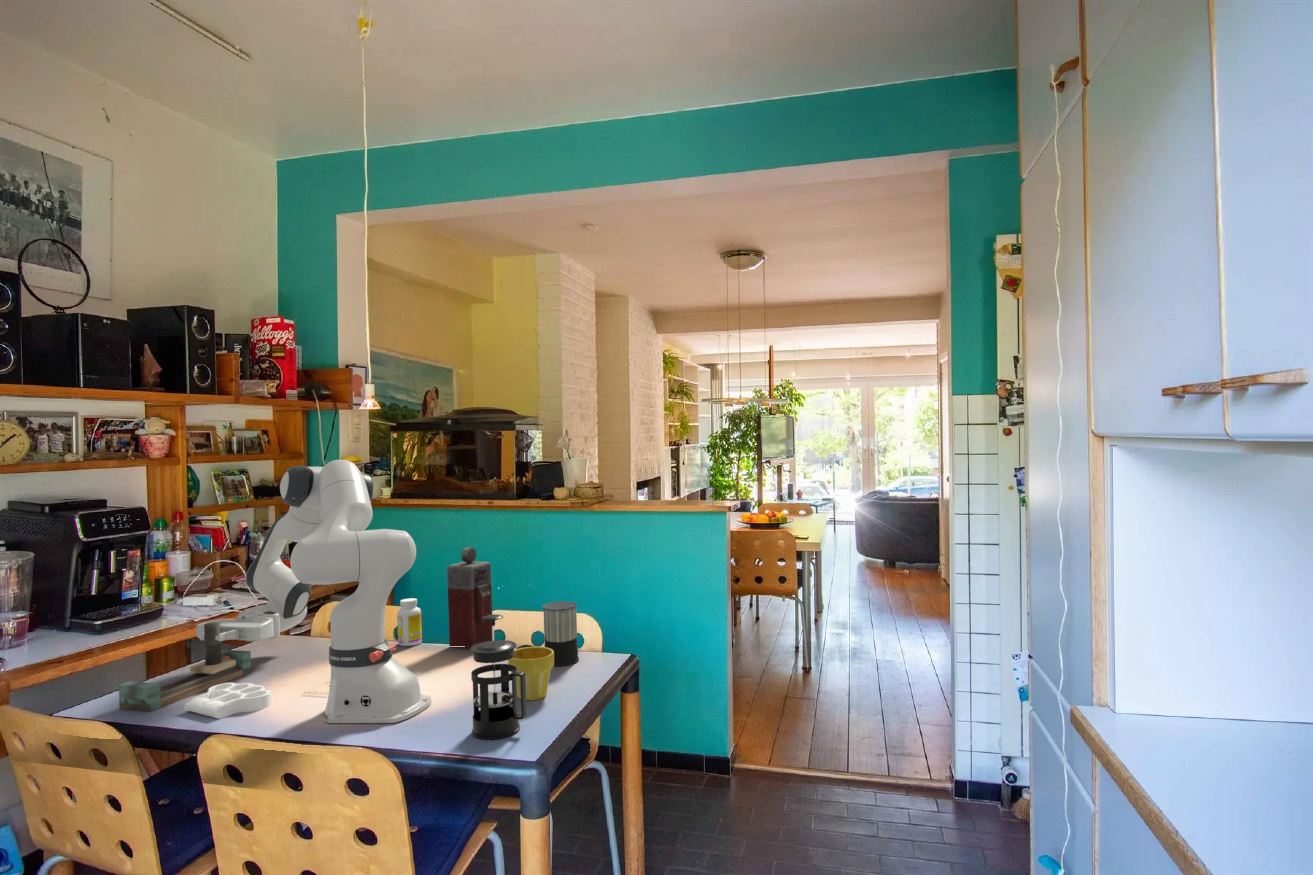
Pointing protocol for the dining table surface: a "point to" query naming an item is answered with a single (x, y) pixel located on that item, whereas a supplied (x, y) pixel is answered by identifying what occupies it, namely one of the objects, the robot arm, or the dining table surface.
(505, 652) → the french press
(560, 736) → the dining table surface
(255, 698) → the white paint palette
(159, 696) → the rail track
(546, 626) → the milk frother
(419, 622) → the supplement bottle
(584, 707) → the dining table surface
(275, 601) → the robot arm
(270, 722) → the dining table surface
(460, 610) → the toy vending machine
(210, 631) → the cylinder
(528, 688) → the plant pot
